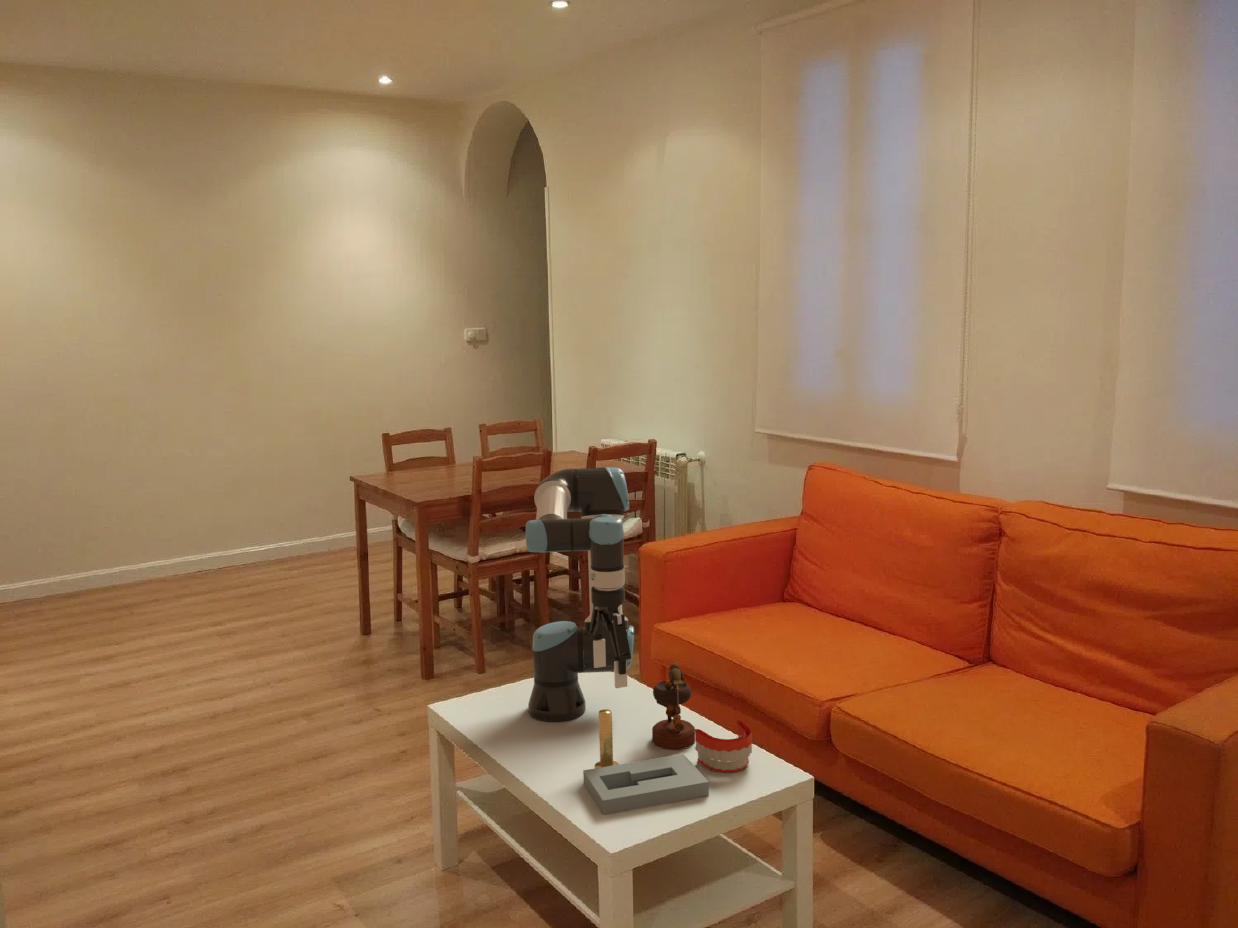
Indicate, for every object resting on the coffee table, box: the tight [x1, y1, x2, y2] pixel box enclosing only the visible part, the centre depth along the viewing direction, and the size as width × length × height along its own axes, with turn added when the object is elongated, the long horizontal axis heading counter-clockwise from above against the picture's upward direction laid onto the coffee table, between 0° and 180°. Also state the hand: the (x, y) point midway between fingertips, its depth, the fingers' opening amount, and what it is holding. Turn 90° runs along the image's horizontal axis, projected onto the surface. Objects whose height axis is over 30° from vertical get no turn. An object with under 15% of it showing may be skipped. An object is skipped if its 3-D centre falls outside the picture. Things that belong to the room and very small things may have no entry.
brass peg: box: [594, 709, 620, 769], centre depth 233 cm, size 6×6×14 cm
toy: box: [694, 719, 753, 774], centre depth 234 cm, size 12×10×8 cm
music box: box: [651, 662, 696, 751], centre depth 247 cm, size 15×11×20 cm
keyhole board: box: [582, 753, 710, 815], centre depth 223 cm, size 15×24×3 cm, turn 108°
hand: (610, 676), depth 230 cm, fingers open, 13 cm apart
